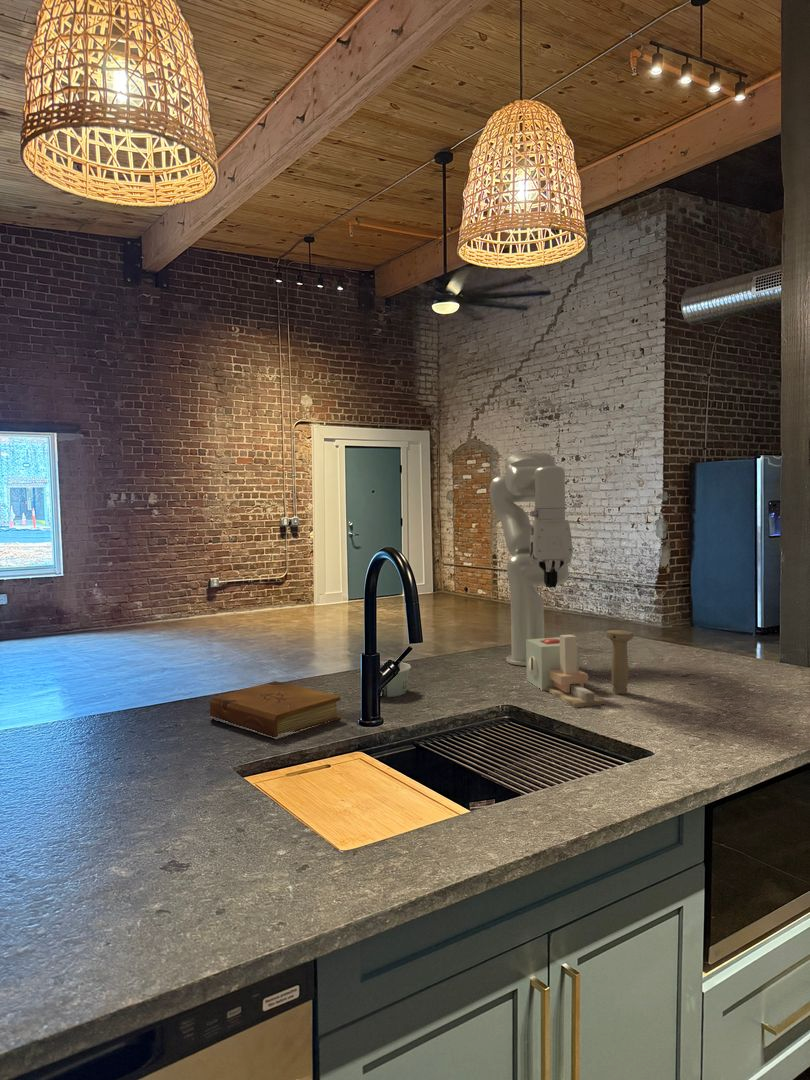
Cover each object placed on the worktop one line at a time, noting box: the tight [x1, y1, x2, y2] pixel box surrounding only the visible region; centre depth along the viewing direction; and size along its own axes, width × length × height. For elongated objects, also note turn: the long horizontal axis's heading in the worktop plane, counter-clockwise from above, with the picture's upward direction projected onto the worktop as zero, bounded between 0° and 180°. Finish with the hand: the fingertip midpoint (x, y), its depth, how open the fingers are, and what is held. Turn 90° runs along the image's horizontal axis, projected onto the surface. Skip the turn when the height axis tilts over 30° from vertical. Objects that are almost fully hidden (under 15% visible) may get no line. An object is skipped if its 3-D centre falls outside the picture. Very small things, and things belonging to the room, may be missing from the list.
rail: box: [546, 684, 607, 709], centre depth 180 cm, size 16×8×3 cm, turn 13°
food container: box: [380, 661, 412, 698], centre depth 190 cm, size 12×12×6 cm
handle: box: [605, 629, 634, 695], centre depth 183 cm, size 5×6×15 cm
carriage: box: [549, 633, 589, 693], centre depth 183 cm, size 7×7×13 cm
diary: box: [209, 680, 342, 737], centre depth 169 cm, size 23×19×6 cm
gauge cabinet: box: [525, 636, 580, 691], centre depth 193 cm, size 10×11×11 cm
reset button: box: [544, 639, 560, 644], centre depth 193 cm, size 4×4×3 cm
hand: (550, 586), depth 192 cm, fingers closed
